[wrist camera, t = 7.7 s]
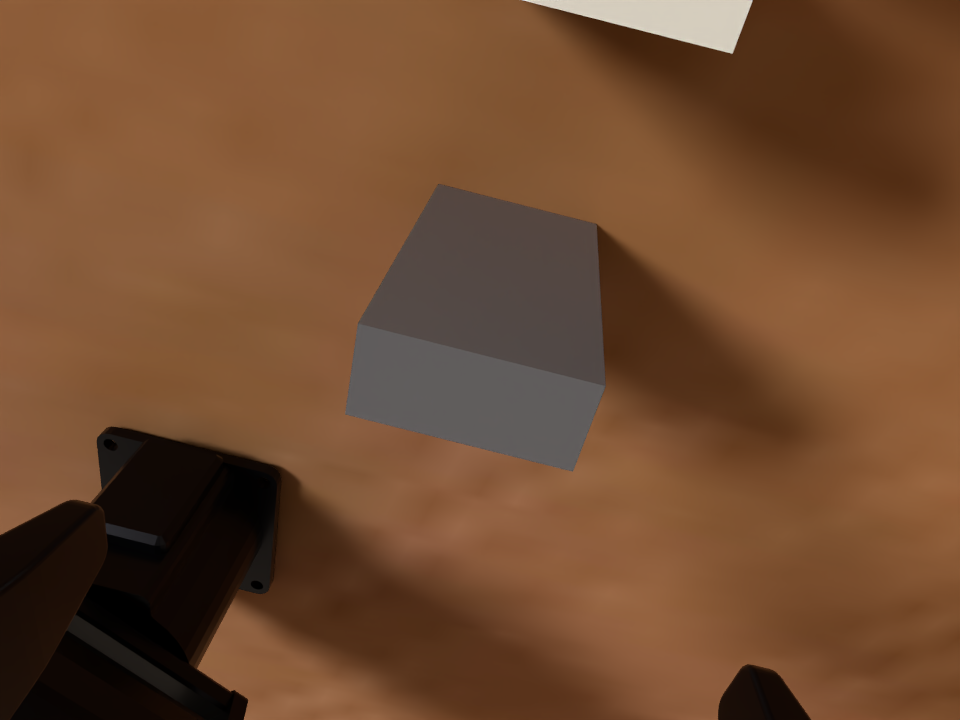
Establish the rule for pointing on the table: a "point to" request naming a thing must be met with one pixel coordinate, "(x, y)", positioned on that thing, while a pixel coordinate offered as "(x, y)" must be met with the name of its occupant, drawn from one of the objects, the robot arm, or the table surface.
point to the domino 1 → (487, 331)
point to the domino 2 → (669, 17)
